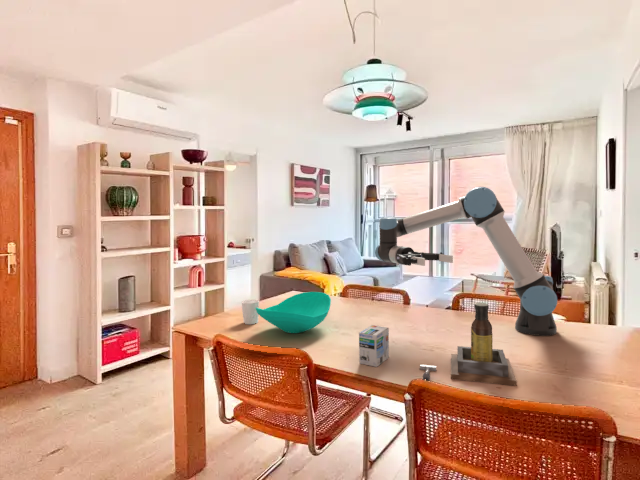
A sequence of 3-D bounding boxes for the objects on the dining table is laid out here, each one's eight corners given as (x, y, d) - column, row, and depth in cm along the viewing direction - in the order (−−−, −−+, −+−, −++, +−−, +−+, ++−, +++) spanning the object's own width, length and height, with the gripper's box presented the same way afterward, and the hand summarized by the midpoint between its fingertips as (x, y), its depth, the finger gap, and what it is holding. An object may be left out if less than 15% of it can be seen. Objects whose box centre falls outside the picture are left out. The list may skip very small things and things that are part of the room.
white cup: (239, 324, 187) (238, 302, 186) (248, 319, 194) (247, 299, 193) (253, 325, 184) (253, 303, 183) (262, 321, 191) (262, 300, 190)
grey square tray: (508, 363, 134) (508, 348, 133) (516, 385, 117) (516, 368, 116) (451, 357, 139) (451, 343, 139) (450, 378, 122) (450, 362, 122)
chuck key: (420, 368, 131) (420, 362, 131) (436, 369, 130) (436, 363, 129) (417, 379, 122) (417, 373, 122) (434, 381, 121) (434, 375, 121)
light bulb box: (377, 367, 132) (376, 335, 132) (358, 363, 136) (358, 332, 135) (389, 357, 142) (389, 326, 141) (371, 353, 145) (371, 324, 144)
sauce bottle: (475, 360, 133) (476, 300, 131) (495, 365, 128) (496, 303, 127) (467, 366, 128) (468, 304, 126) (487, 371, 124) (488, 307, 122)
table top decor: (295, 316, 199) (295, 289, 198) (345, 323, 184) (345, 294, 183) (239, 338, 165) (238, 306, 164) (294, 350, 151) (293, 315, 150)
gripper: (425, 262, 175) (463, 267, 156) (377, 266, 164) (411, 273, 145) (425, 244, 175) (463, 248, 156) (377, 248, 164) (411, 252, 145)
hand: (438, 260), depth 151 cm, fingers open, 13 cm apart
